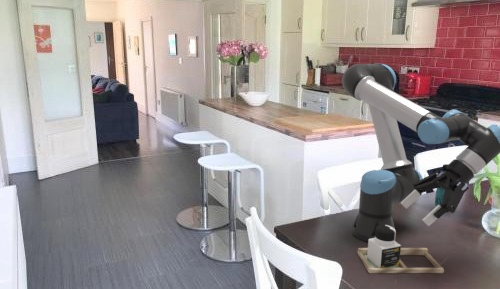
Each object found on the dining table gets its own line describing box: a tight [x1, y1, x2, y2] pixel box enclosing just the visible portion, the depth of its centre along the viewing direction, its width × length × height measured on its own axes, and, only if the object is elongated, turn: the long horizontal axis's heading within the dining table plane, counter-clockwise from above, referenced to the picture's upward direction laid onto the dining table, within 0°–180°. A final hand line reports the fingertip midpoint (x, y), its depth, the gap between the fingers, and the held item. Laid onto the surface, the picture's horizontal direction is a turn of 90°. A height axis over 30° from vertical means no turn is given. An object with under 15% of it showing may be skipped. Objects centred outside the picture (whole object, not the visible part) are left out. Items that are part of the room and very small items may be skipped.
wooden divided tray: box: [357, 247, 445, 274], centre depth 127 cm, size 23×12×2 cm, turn 91°
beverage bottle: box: [434, 163, 448, 207], centre depth 168 cm, size 6×7×20 cm
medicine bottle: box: [367, 225, 402, 268], centre depth 125 cm, size 7×7×12 cm
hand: (413, 214), depth 124 cm, fingers open, 13 cm apart
